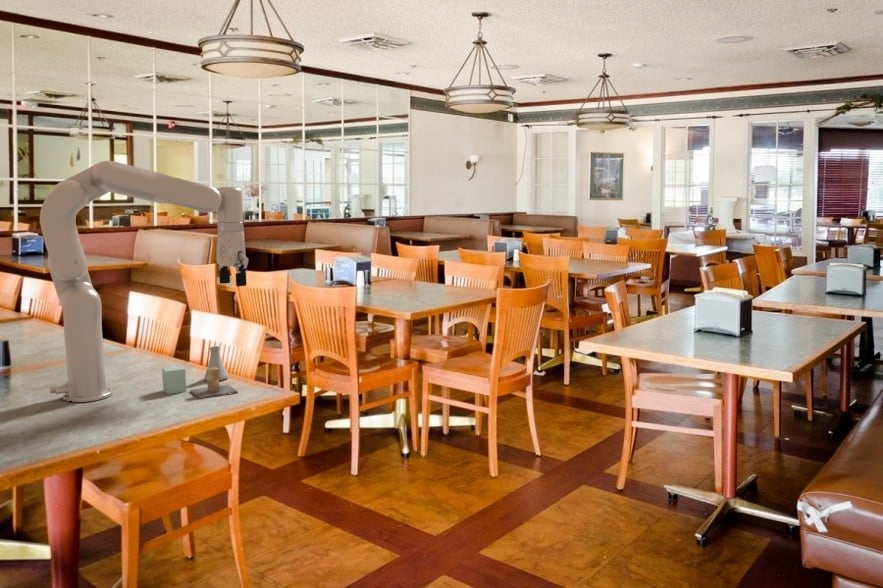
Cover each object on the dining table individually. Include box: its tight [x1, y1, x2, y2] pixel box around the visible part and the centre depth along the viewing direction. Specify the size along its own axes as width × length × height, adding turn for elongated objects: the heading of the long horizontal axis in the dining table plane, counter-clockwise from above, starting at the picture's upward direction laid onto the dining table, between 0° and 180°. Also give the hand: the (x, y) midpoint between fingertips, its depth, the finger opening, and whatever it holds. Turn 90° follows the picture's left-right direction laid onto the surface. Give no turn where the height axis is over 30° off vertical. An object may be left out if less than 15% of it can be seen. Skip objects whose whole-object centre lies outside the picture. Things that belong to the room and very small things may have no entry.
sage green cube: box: [161, 365, 187, 395], centre depth 219 cm, size 5×5×7 cm
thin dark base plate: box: [189, 367, 239, 400], centre depth 217 cm, size 11×9×7 cm
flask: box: [203, 345, 229, 382], centre depth 232 cm, size 7×7×10 cm
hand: (233, 284), depth 231 cm, fingers open, 9 cm apart
